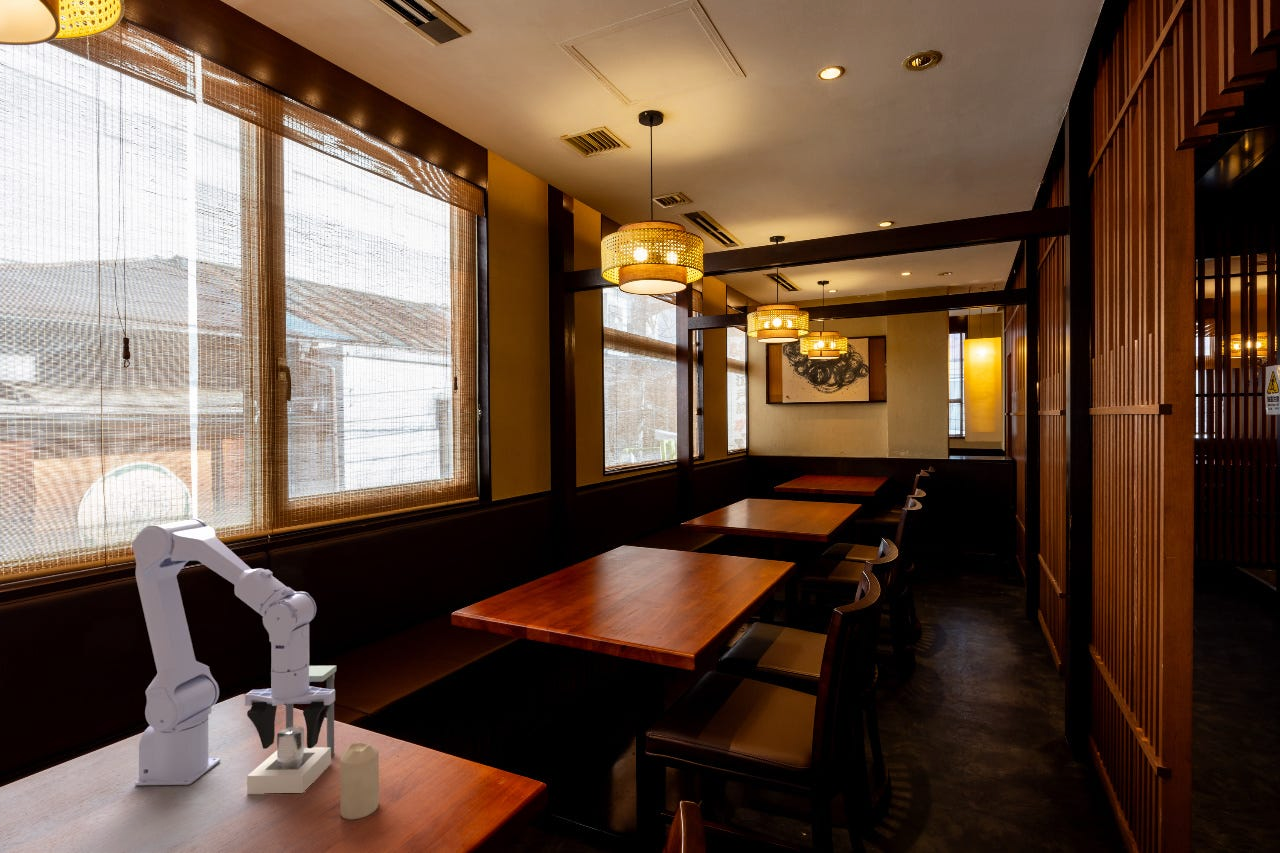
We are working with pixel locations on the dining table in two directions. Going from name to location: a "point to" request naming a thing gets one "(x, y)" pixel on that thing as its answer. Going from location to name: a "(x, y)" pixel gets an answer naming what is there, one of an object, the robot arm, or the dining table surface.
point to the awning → (329, 674)
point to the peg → (290, 748)
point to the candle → (359, 781)
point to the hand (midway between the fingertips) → (290, 745)
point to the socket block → (289, 773)
